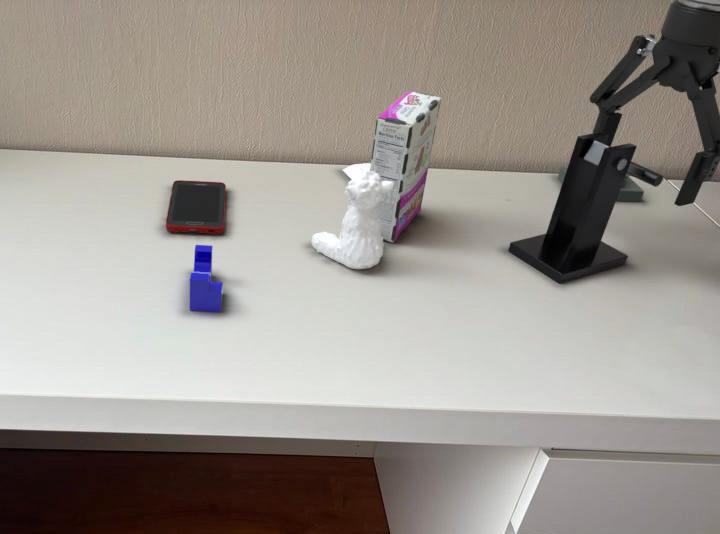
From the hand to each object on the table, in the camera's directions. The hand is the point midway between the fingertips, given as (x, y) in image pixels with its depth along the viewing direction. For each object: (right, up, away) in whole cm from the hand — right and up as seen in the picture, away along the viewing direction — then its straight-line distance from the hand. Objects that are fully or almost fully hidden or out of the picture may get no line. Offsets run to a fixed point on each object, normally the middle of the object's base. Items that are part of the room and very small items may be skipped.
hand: (637, 182), depth 96 cm
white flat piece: (-31, +3, +16) cm, 35 cm away
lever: (-4, 0, -3) cm, 6 cm away
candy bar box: (-30, -4, +7) cm, 32 cm away
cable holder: (-55, -15, -9) cm, 58 cm away
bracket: (-8, -9, +2) cm, 13 cm away
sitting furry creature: (-37, -10, -1) cm, 38 cm away
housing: (+5, +4, +20) cm, 21 cm away
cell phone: (-57, -2, +8) cm, 58 cm away
